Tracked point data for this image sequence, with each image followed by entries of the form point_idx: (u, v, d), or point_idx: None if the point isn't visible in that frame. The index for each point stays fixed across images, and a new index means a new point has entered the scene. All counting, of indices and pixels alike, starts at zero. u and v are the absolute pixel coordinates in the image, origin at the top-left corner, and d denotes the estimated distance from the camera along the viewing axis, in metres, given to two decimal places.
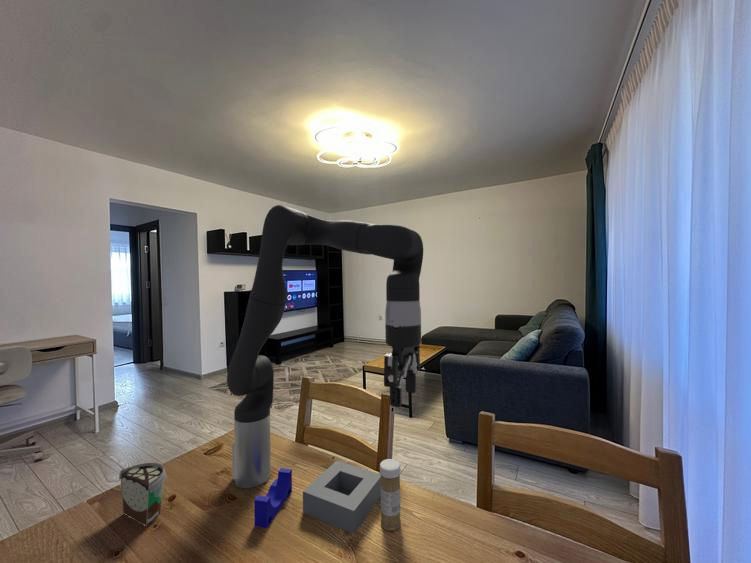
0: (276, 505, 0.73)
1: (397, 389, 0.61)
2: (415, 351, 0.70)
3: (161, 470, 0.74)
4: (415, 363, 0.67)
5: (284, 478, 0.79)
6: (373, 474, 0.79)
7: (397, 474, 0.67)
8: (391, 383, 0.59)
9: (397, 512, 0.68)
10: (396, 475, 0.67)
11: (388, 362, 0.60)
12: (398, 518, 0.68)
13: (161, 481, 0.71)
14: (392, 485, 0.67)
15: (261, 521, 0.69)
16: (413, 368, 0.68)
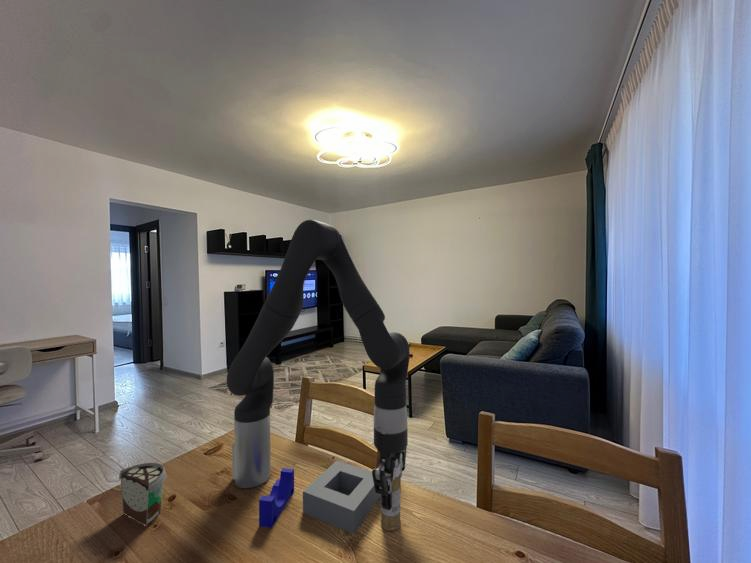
0: (279, 505, 0.73)
1: (387, 494, 0.66)
2: (402, 449, 0.73)
3: (161, 470, 0.74)
4: (401, 464, 0.70)
5: (286, 478, 0.79)
6: None
7: (397, 474, 0.67)
8: (382, 492, 0.64)
9: (397, 512, 0.68)
10: (396, 475, 0.67)
11: (376, 477, 0.63)
12: (398, 518, 0.68)
13: (161, 481, 0.71)
14: (392, 485, 0.67)
15: (266, 521, 0.69)
16: None
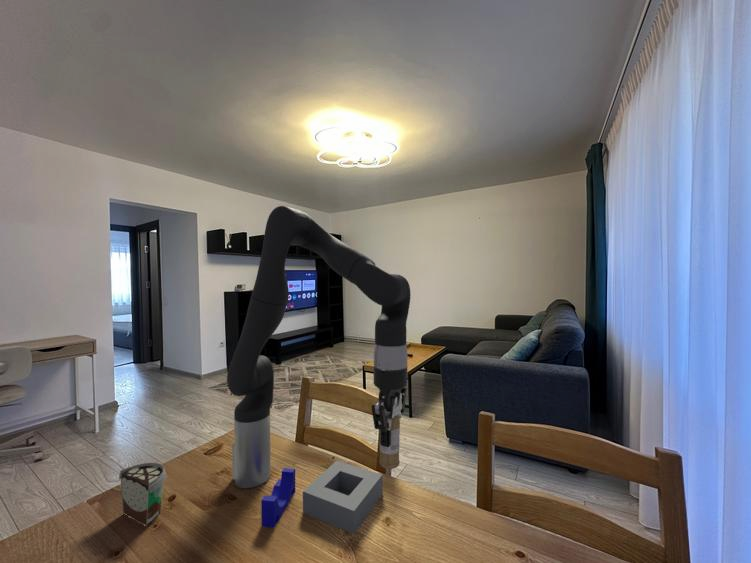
0: (281, 505, 0.73)
1: (387, 431, 0.66)
2: (402, 393, 0.73)
3: (161, 470, 0.74)
4: (400, 405, 0.70)
5: (288, 478, 0.79)
6: (373, 474, 0.79)
7: (396, 413, 0.67)
8: (381, 427, 0.64)
9: (396, 451, 0.68)
10: (395, 413, 0.67)
11: (375, 411, 0.63)
12: (397, 457, 0.68)
13: (161, 481, 0.71)
14: (392, 423, 0.67)
15: (268, 521, 0.69)
16: None
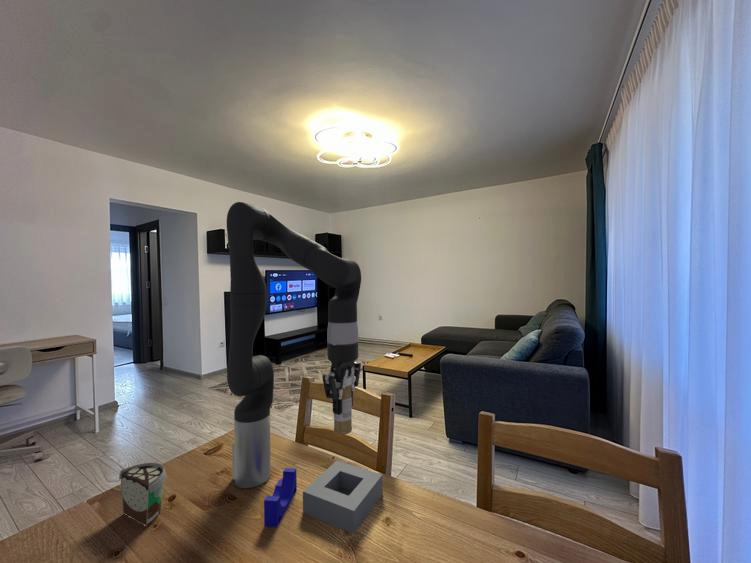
0: (283, 505, 0.73)
1: (338, 400, 0.73)
2: (356, 368, 0.80)
3: (161, 470, 0.74)
4: (353, 378, 0.77)
5: (289, 477, 0.79)
6: (373, 474, 0.79)
7: (348, 384, 0.74)
8: (331, 396, 0.71)
9: (348, 418, 0.74)
10: (347, 384, 0.74)
11: (326, 381, 0.70)
12: (349, 424, 0.75)
13: (161, 481, 0.71)
14: (343, 393, 0.74)
15: (271, 521, 0.69)
16: None
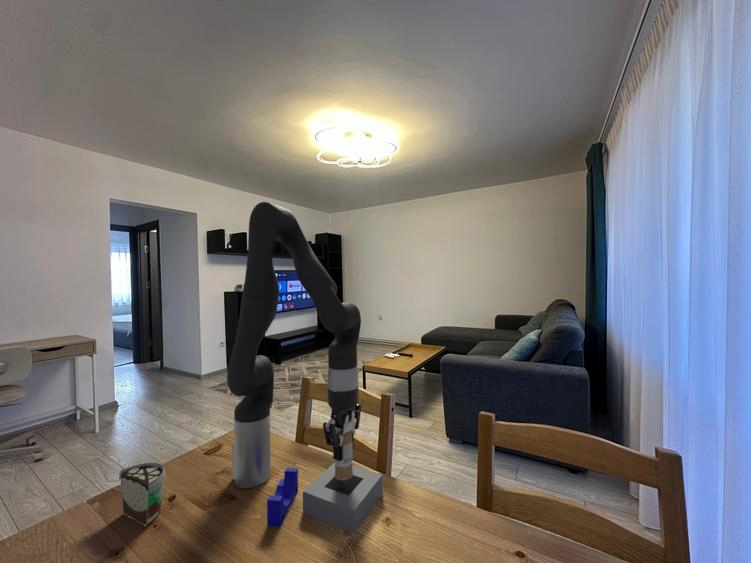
0: (286, 504, 0.73)
1: (338, 446, 0.73)
2: (356, 410, 0.80)
3: (161, 470, 0.74)
4: (353, 422, 0.77)
5: (291, 477, 0.79)
6: (373, 474, 0.79)
7: (348, 429, 0.74)
8: (332, 444, 0.71)
9: (348, 464, 0.74)
10: (347, 430, 0.74)
11: (326, 429, 0.70)
12: (350, 469, 0.75)
13: (161, 481, 0.71)
14: (344, 439, 0.74)
15: (274, 520, 0.69)
16: None
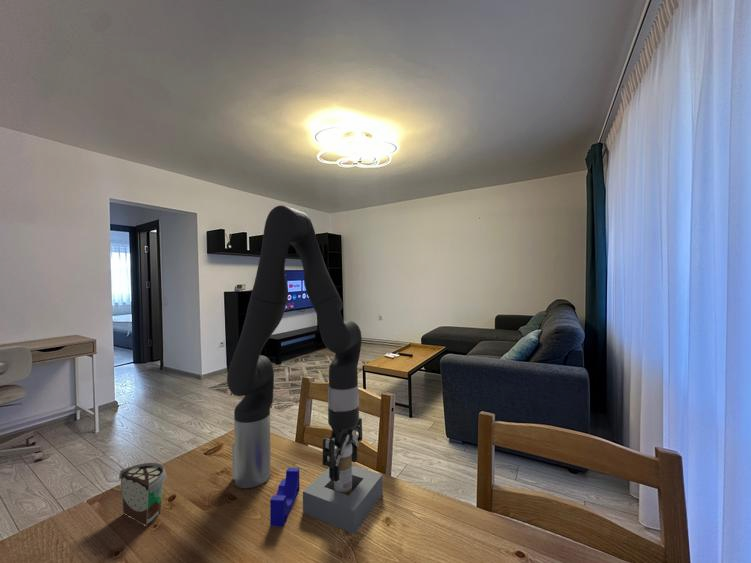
0: (288, 504, 0.73)
1: (335, 466, 0.71)
2: (357, 424, 0.80)
3: (161, 470, 0.74)
4: (355, 438, 0.77)
5: (292, 477, 0.79)
6: (373, 474, 0.79)
7: (348, 454, 0.74)
8: (328, 463, 0.70)
9: (348, 488, 0.74)
10: (347, 455, 0.74)
11: (326, 445, 0.70)
12: (349, 494, 0.75)
13: (161, 481, 0.71)
14: (343, 464, 0.74)
15: (277, 520, 0.69)
16: (354, 441, 0.78)
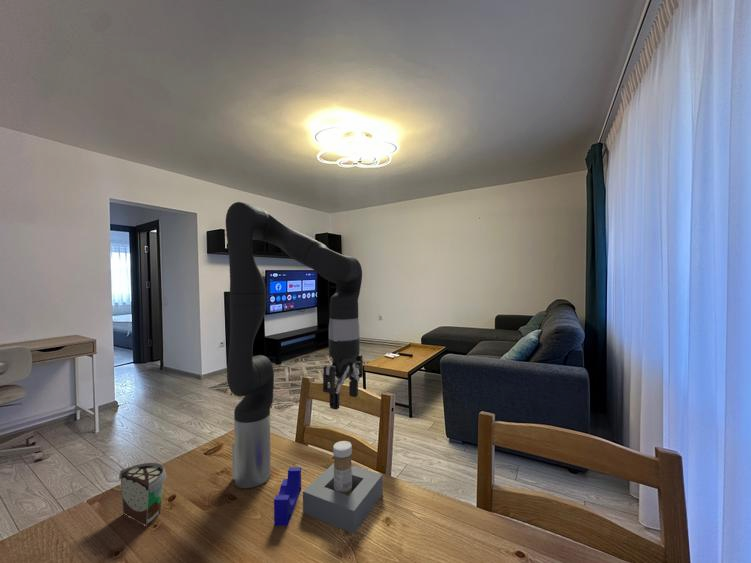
0: (291, 503, 0.74)
1: (335, 394, 0.72)
2: (358, 361, 0.81)
3: (161, 470, 0.74)
4: (356, 371, 0.78)
5: (294, 476, 0.79)
6: (373, 474, 0.79)
7: (348, 454, 0.74)
8: (328, 389, 0.70)
9: (348, 488, 0.74)
10: (347, 455, 0.74)
11: (326, 371, 0.70)
12: (349, 494, 0.75)
13: (161, 481, 0.71)
14: (343, 464, 0.74)
15: (281, 520, 0.69)
16: (354, 376, 0.78)
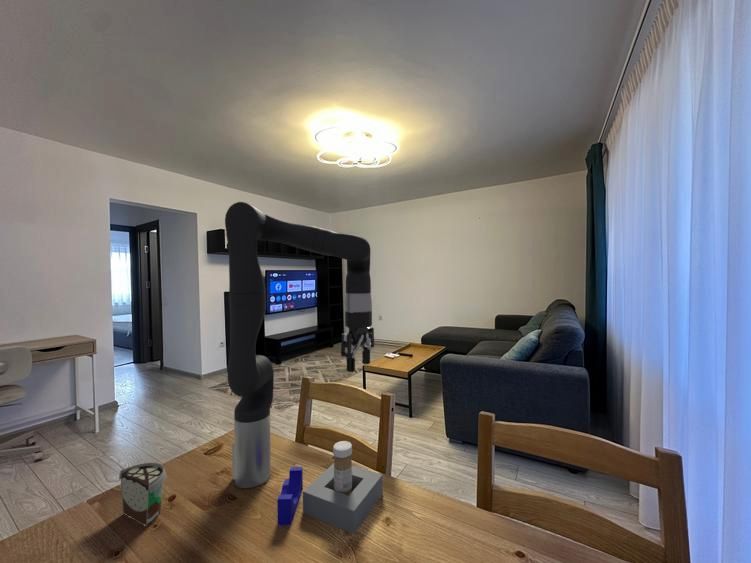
0: (294, 503, 0.74)
1: (351, 358, 0.82)
2: (370, 332, 0.91)
3: (161, 470, 0.74)
4: (368, 341, 0.88)
5: (296, 476, 0.79)
6: (373, 474, 0.79)
7: (348, 454, 0.74)
8: (346, 353, 0.80)
9: (348, 488, 0.74)
10: (347, 455, 0.74)
11: (344, 338, 0.81)
12: (349, 494, 0.75)
13: (161, 481, 0.71)
14: (343, 464, 0.74)
15: (285, 519, 0.69)
16: (367, 345, 0.89)
